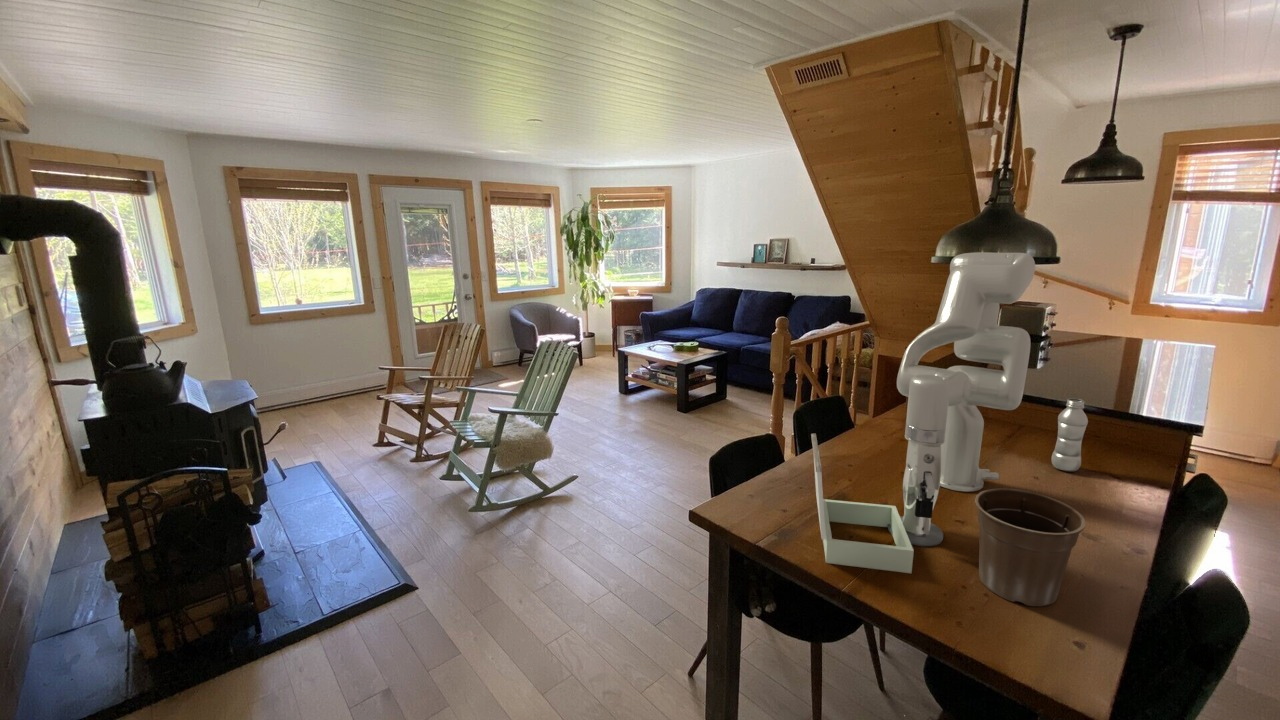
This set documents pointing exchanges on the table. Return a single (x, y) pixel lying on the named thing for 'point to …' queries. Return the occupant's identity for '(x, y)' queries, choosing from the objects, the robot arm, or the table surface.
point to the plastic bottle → (1070, 436)
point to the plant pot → (1025, 544)
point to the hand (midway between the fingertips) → (917, 505)
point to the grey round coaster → (929, 540)
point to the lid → (818, 485)
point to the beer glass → (910, 521)
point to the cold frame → (867, 553)
